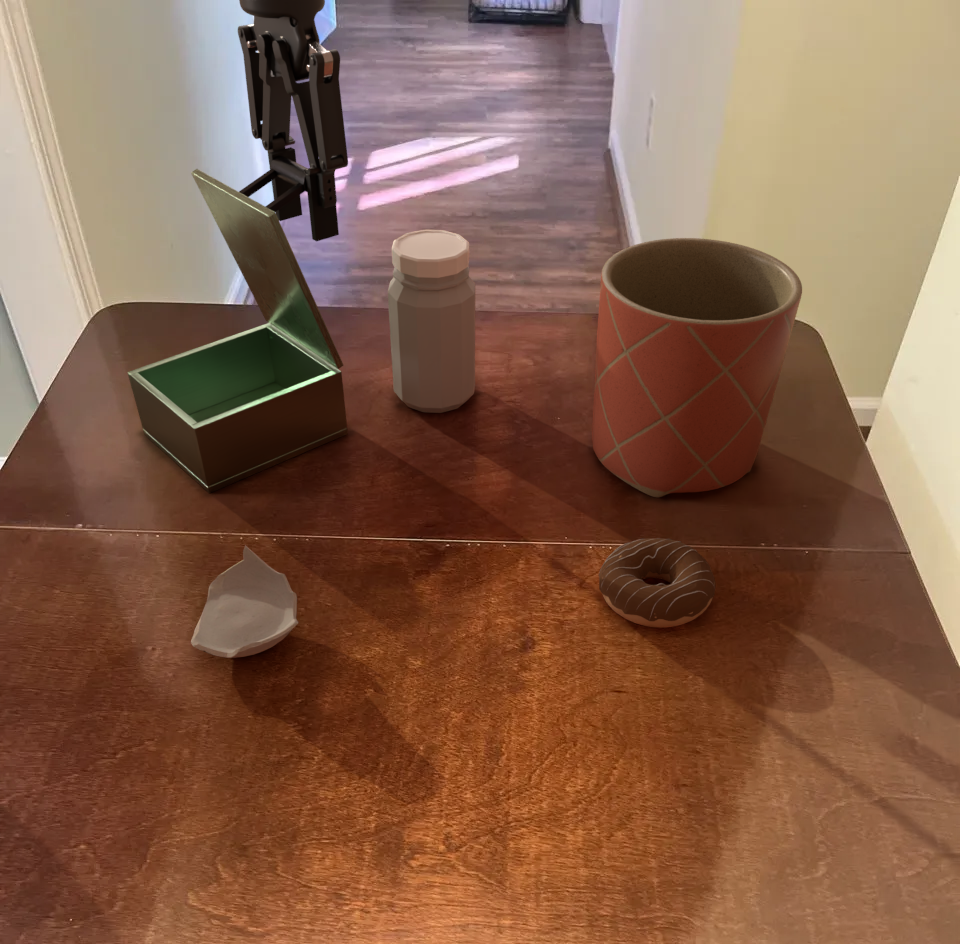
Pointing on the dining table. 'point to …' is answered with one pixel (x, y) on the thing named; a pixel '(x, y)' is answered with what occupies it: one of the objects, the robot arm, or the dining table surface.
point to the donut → (658, 602)
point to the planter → (688, 361)
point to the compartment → (239, 405)
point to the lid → (270, 254)
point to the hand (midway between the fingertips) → (307, 226)
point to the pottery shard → (246, 610)
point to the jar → (432, 320)
